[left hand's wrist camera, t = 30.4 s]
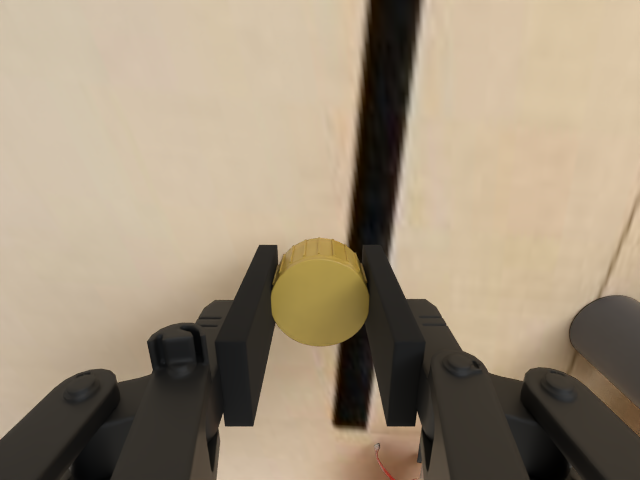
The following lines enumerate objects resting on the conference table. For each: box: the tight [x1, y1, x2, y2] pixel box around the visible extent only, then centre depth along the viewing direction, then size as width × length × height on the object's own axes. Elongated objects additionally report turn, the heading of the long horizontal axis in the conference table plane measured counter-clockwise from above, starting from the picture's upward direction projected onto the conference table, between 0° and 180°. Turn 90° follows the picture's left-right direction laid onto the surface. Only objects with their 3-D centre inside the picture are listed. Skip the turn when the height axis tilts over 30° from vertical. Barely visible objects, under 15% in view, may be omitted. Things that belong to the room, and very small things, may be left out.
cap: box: [271, 238, 369, 346], centre depth 14 cm, size 4×4×2 cm
